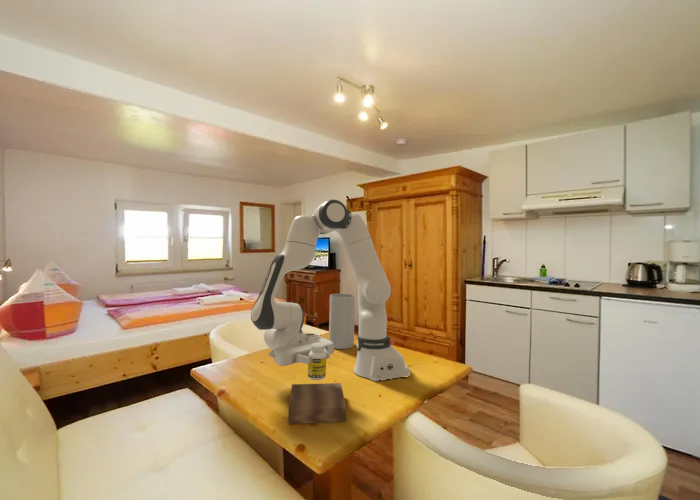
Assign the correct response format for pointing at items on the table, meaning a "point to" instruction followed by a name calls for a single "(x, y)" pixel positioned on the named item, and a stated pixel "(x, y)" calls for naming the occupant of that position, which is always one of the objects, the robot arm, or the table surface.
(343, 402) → the walnut plinth
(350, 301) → the cylinder vase
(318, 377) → the supplement bottle
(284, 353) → the robot arm
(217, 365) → the table surface
